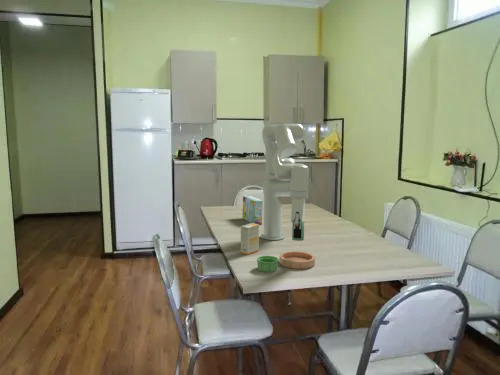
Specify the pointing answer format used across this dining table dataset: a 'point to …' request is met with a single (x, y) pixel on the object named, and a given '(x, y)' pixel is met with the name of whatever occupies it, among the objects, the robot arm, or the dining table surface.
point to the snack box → (252, 209)
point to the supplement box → (249, 238)
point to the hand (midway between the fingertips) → (298, 236)
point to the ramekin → (267, 263)
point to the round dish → (297, 260)
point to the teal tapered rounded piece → (301, 232)
